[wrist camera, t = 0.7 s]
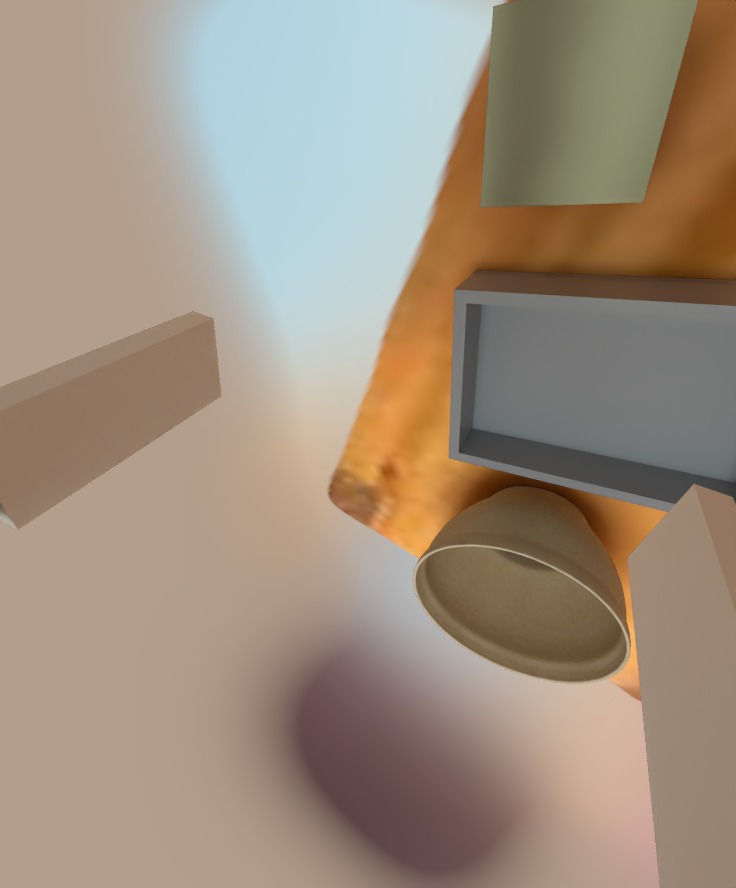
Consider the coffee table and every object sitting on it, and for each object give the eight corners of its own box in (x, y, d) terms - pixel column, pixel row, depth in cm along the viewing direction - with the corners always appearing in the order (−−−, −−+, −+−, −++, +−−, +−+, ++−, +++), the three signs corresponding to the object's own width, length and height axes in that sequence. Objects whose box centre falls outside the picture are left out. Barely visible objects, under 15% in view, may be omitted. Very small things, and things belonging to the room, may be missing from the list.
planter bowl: (438, 533, 47) (398, 612, 39) (480, 427, 36) (436, 510, 28) (580, 604, 42) (565, 709, 35) (678, 508, 31) (687, 632, 24)
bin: (867, 284, 20) (906, 315, 17) (741, 486, 28) (753, 532, 25) (475, 270, 28) (454, 289, 25) (465, 429, 37) (448, 458, 34)
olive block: (688, 12, 18) (711, -47, 11) (645, 173, 22) (643, 202, 15) (545, 40, 21) (493, 6, 14) (528, 179, 24) (480, 207, 17)
